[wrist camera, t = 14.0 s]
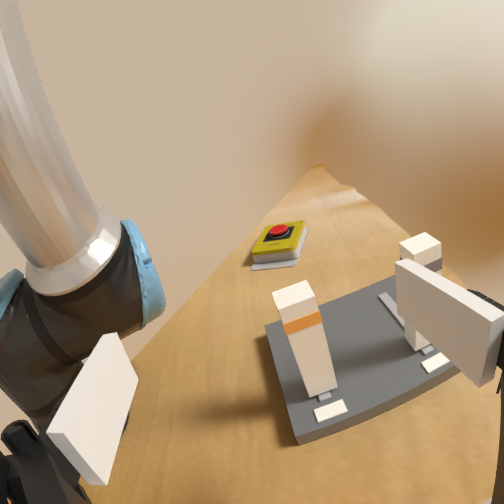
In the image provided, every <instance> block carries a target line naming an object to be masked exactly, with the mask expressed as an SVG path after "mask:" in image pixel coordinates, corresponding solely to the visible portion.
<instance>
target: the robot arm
mask: <svg viewBox="0 0 504 504" xmlns="http://www.w3.org/2000/svg"><path fill="white" fill-rule="evenodd" d="M0 223H1V224H2V225H3V227H4V228H5V230H6V231H7V233H8V234H9V235H10V237H11V238H12V240H13V241H14V242H15V244H16V245H17V246H18V248H19V249H20V250H21V252H22V253H23V254H24V256H25V257H26V258H27V262H26V278H24V275H23V273H21V272H20V271H19V270H18V269H14V270H12V271H11V272H9V273H7V274H6V275H5V276H4V277H3V278H1V279H0V388H1V389H2V390H3V391H4V392H5V393H6V395H8V397H9V398H10V399H11V400H12V401H13V402H14V403H15V404H16V405H17V406H18V407H19V408H20V409H21V410H22V411H24V412H25V414H26V415H27V416H28V417H29V418H30V419H31V421H32V422H33V424H34V426H35V428H36V429H37V431H38V432H39V435H37V433H36V432H35V431H34V429H33V428H32V427H31V425H30V424H29V423H28V421H26V420H17V421H14V422H12V423H11V424H9V425H8V426H7V427H6V428H5V429H4V430H3V432H2V434H1V440H2V441H3V443H4V444H5V445H6V446H7V448H8V449H9V450H10V451H11V453H12V455H7V456H4V455H3V453H2V452H1V451H0V504H9V503H8V500H7V498H8V499H9V500H10V501H11V504H92V503H91V501H90V499H89V498H88V496H87V494H86V492H85V491H84V489H83V488H82V487H81V485H80V484H79V483H78V481H79V478H80V475H81V476H82V477H83V478H84V480H85V481H86V482H87V483H88V484H89V485H100V486H107V484H108V480H109V476H110V473H111V469H112V465H113V462H114V458H115V455H116V451H117V448H118V444H119V441H120V438H121V436H122V434H123V432H124V430H125V428H126V425H127V422H128V418H129V408H130V405H131V402H132V399H133V395H134V392H135V389H136V386H137V383H138V380H139V379H138V377H137V375H136V373H135V371H134V369H133V367H132V365H131V363H130V361H129V359H128V356H127V355H126V352H125V350H124V348H123V346H122V343H121V341H120V340H121V339H123V338H125V337H126V336H129V335H130V334H132V333H134V332H136V331H138V330H141V329H143V328H144V327H145V325H146V324H148V323H149V322H151V321H153V320H154V319H156V318H157V317H159V316H160V315H161V314H162V313H163V311H164V310H165V306H166V299H165V295H164V291H163V288H162V285H161V282H160V279H159V276H158V273H157V271H156V269H155V266H154V264H153V263H152V259H151V257H150V254H149V251H148V248H147V246H146V244H145V242H144V239H143V237H142V235H141V233H140V231H139V229H138V227H137V226H136V224H135V222H133V220H129V219H128V220H121V221H119V219H118V217H117V216H116V215H115V214H114V213H113V212H112V211H111V210H109V209H107V208H104V207H97V206H95V205H94V203H93V201H92V199H91V197H90V195H89V193H88V191H87V189H86V187H85V185H84V183H83V181H82V179H81V176H80V174H79V172H78V170H77V168H76V166H75V164H74V162H73V159H72V157H71V155H70V153H69V151H68V148H67V146H66V144H65V141H64V139H63V137H62V134H61V132H60V130H59V127H58V125H57V122H56V120H55V118H54V115H53V112H52V110H51V108H50V105H49V102H48V99H47V97H46V94H45V91H44V89H43V86H42V83H41V80H40V77H39V75H38V72H37V69H36V66H35V63H34V60H33V56H32V53H31V50H30V47H29V44H28V40H27V37H26V34H25V30H24V26H23V23H22V19H21V15H20V11H19V7H18V3H17V0H0ZM394 264H395V277H396V295H397V314H398V315H399V316H400V317H402V318H403V319H404V320H405V321H406V322H407V323H408V324H410V325H411V326H412V327H413V328H414V329H415V330H416V331H417V332H419V333H420V334H421V335H422V336H423V337H424V338H425V339H426V340H428V341H429V342H430V343H431V344H432V345H433V346H434V347H435V348H436V349H438V350H439V351H440V352H441V353H442V354H443V355H444V356H445V357H446V358H447V359H449V360H450V361H451V362H452V363H453V364H454V365H455V366H456V367H457V368H458V369H459V370H460V371H462V372H463V373H464V374H465V375H466V376H467V377H468V378H469V379H470V380H471V381H472V382H473V383H474V384H475V385H476V386H478V387H479V388H480V387H481V386H483V385H484V384H486V383H488V382H489V381H491V380H492V379H493V378H494V374H495V370H496V366H498V367H499V368H500V369H502V374H501V378H500V381H499V385H498V388H497V392H496V394H499V391H500V389H501V424H500V441H499V453H498V463H497V471H496V478H495V485H494V491H493V496H492V502H491V504H504V306H502V305H501V304H499V303H497V302H496V301H495V302H494V300H492V299H490V298H487V296H485V295H483V294H482V293H480V292H477V291H473V290H469V289H467V290H465V289H464V288H462V287H460V286H458V285H457V284H455V283H453V282H451V281H449V280H448V279H446V278H444V277H442V276H440V275H438V274H437V273H435V272H433V271H431V270H429V269H427V268H425V267H424V266H422V265H420V264H418V263H416V262H414V261H412V260H410V259H408V258H407V259H403V260H400V261H397V262H394ZM87 357H89V358H88V359H87V361H86V363H85V364H83V363H82V362H81V360H83V359H85V358H87Z"/></svg>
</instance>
